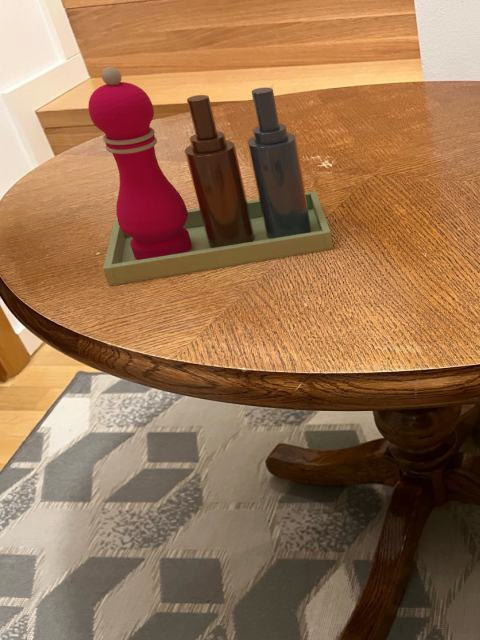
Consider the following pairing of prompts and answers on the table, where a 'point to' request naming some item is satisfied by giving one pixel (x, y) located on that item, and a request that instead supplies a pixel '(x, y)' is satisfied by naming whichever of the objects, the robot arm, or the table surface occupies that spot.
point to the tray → (203, 257)
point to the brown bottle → (217, 179)
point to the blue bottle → (277, 171)
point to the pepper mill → (139, 170)
